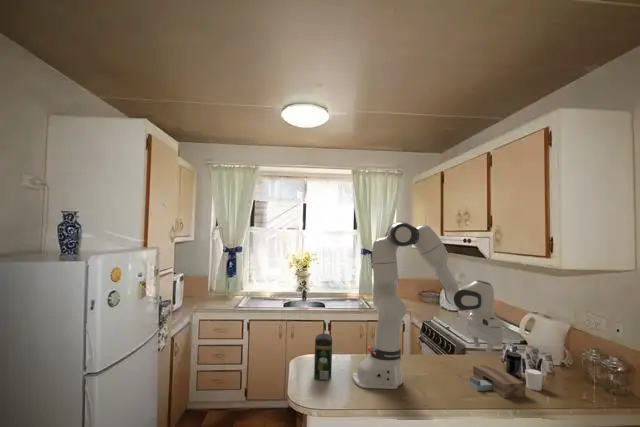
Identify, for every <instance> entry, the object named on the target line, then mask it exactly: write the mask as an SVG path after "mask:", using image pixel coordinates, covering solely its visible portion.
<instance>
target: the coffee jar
mask: <svg viewBox="0 0 640 427" xmlns="http://www.w3.org/2000/svg"><path fill="white" fill-rule="evenodd" d="M332 358H333V337H332V336H331V335H330V334H329V333H319V334H317V335H316V336H315V339H314V363H313V365H314V366H313V367H314V368H313V369H314V371H313V376H314V379H316V380H319V381H328V380H330V379H331V378H332V368H333V366H332V362H333V361H332V360H333V359H332Z"/></svg>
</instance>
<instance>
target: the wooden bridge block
mask: <svg viewBox="0 0 640 427" xmlns="http://www.w3.org/2000/svg"><path fill="white" fill-rule="evenodd" d="M472 369H473V371H472V374H473V377H475V378H476V379H478V380H492V381H493V390H492V391H493V392H494V393H495V394H497V395H499V396H500V395H501V396H500V397H502V398H504V399H507V397H512V398H521V397H522V398H524V397H526V382H524V381H522V380H521V379H517V378H515V377H513V376H511V375H510V374H508V373H506V371H505V370H502V369H501V368H499V367H497V366H496V365H495V366H494V365H493V364H481V365H473V368H472Z"/></svg>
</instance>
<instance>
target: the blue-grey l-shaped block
mask: <svg viewBox="0 0 640 427" xmlns="http://www.w3.org/2000/svg"><path fill="white" fill-rule="evenodd" d="M469 386H470V387H471V388H473V389H474V390H475V391H477V392H479V391H482V392H484V391H493V381H492V380H478V379H476V378H475V377H473V376H469Z"/></svg>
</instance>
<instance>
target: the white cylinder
mask: <svg viewBox="0 0 640 427" xmlns="http://www.w3.org/2000/svg"><path fill="white" fill-rule="evenodd" d="M524 373H525V374H524V375H525V386H526V387H527V388H528V389H530V390H533V391H541V390H542V387H543V378H544V373H543V371H540V370H538V369H533V368H526V369H524Z"/></svg>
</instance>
